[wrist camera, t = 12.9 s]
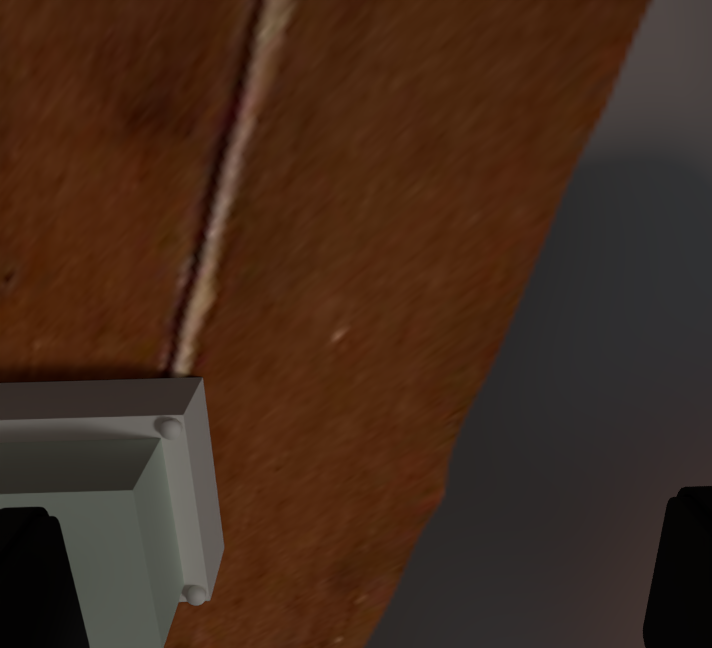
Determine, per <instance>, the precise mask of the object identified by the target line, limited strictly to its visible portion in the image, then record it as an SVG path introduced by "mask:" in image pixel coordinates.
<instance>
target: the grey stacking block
mask: <svg viewBox="0 0 712 648" xmlns="http://www.w3.org/2000/svg"><path fill="white" fill-rule="evenodd" d="M8 507H44V508H45V509H46V510H47V511H48V514H49V516H55V517H56V518H57V519H58V520H59V523H60V526H61V530H62V534H63V538H64V542H65V547H66V551H67V555H68V559H69V563H70V567H71V571H72V575H73V579H74V583H75V588H76V592H77V596H78V600H79V604H80V608H81V612H82V616H83V620H84V624H85V629H86V633H87V637H88V641H89V646H90V648H163V647H164V644H165V641H166V638H167V635H168V632H169V629H170V626H171V623H172V620H173V617H174V614H175V611H176V608H177V605H178V602H188V603H190V604H192V605H201V604H202V603H203V602H204V601H210V599H211V595H212V591H213V588H214V584H215V580H216V577H217V573H218V569H219V565H220V562H221V558H222V554H223V551H224V542H223V534H222V526H221V518H220V510H219V502H218V494H217V486H216V478H215V470H214V463H213V455H212V447H211V439H210V431H209V423H208V415H207V407H206V399H205V392H204V384H203V377H195V378H160V379H125V380H91V381H56V382H21V383H0V509H2V508H8Z"/></svg>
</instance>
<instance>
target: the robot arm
mask: <svg viewBox="0 0 712 648" xmlns="http://www.w3.org/2000/svg"><path fill="white" fill-rule="evenodd" d="M643 638H644V643H645V647H646V648H712V486H697V487H684V488H681V489H680V491H679V492H678V494H677V497H672V498H670V499H669V501H668V503H667V507H666V512H665V517H664V522H663V527H662V532H661V538H660V543H659V548H658V553H657V558H656V563H655V568H654V573H653V579H652V584H651V589H650V594H649V599H648V604H647V609H646V615H645V620H644V625H643ZM0 648H90V646H89V641H88V637H87V633H86V629H85V624H84V620H83V616H82V612H81V608H80V604H79V600H78V596H77V592H76V588H75V583H74V579H73V575H72V571H71V567H70V563H69V559H68V555H67V551H66V547H65V542H64V538H63V534H62V530H61V526H60V523H59V520H58V519H57V518H56V517H55V516H49V514H48V511H47V510H46V509H45V508H44V507H8V508H2V509H0Z"/></svg>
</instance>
